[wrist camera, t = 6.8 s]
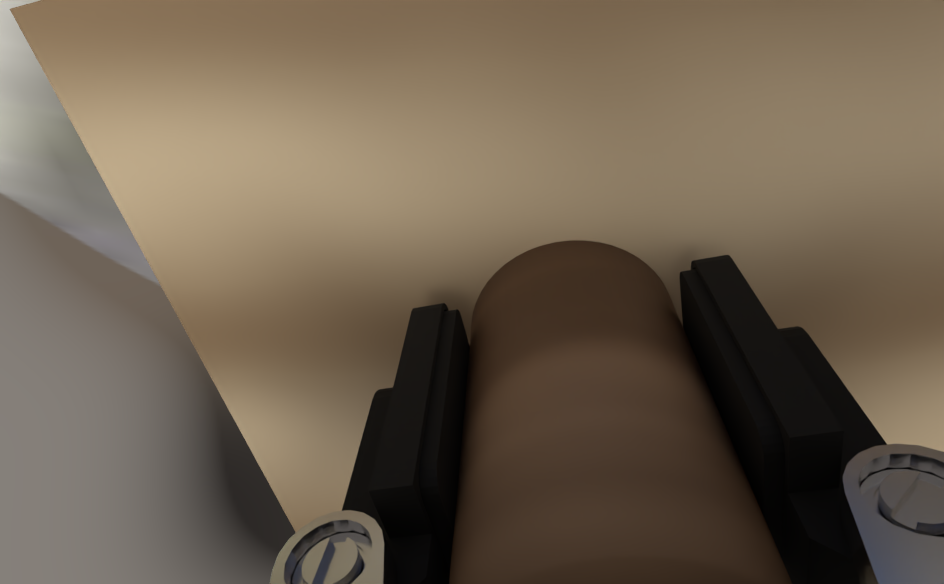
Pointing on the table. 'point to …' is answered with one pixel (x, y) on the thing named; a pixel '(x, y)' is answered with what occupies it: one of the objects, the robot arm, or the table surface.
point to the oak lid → (527, 236)
